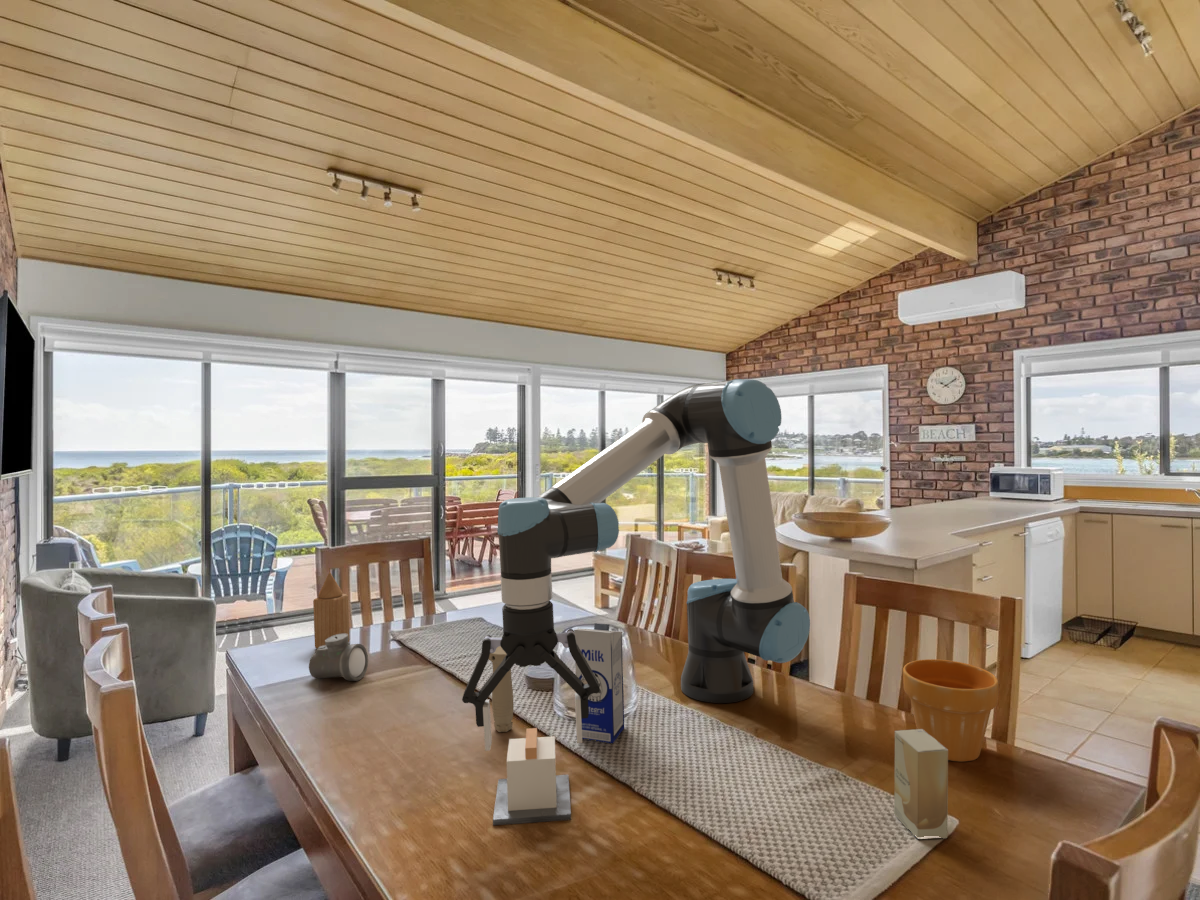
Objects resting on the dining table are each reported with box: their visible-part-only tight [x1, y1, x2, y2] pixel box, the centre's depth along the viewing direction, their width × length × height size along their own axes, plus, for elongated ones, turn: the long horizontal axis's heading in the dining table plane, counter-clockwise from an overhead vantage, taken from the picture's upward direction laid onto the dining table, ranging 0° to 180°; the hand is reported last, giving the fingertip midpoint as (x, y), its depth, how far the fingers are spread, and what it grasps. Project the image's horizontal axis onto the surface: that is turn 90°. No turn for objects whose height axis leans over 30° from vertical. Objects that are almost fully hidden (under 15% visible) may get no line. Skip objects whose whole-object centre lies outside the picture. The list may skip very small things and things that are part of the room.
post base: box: [492, 774, 572, 826], centre depth 99 cm, size 11×11×5 cm
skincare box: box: [893, 728, 949, 839], centre depth 90 cm, size 6×4×12 cm
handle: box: [488, 646, 514, 733], centre depth 123 cm, size 5×6×15 cm
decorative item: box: [312, 570, 351, 649], centre depth 176 cm, size 7×7×20 cm
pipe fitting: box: [308, 633, 369, 682], centre depth 152 cm, size 12×8×10 cm, turn 76°
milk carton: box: [573, 622, 625, 744], centre depth 120 cm, size 7×7×20 cm
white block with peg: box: [506, 727, 557, 811], centre depth 99 cm, size 7×7×9 cm
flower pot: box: [902, 658, 999, 763], centre depth 111 cm, size 14×14×13 cm
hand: (534, 742), depth 99 cm, fingers open, 13 cm apart
